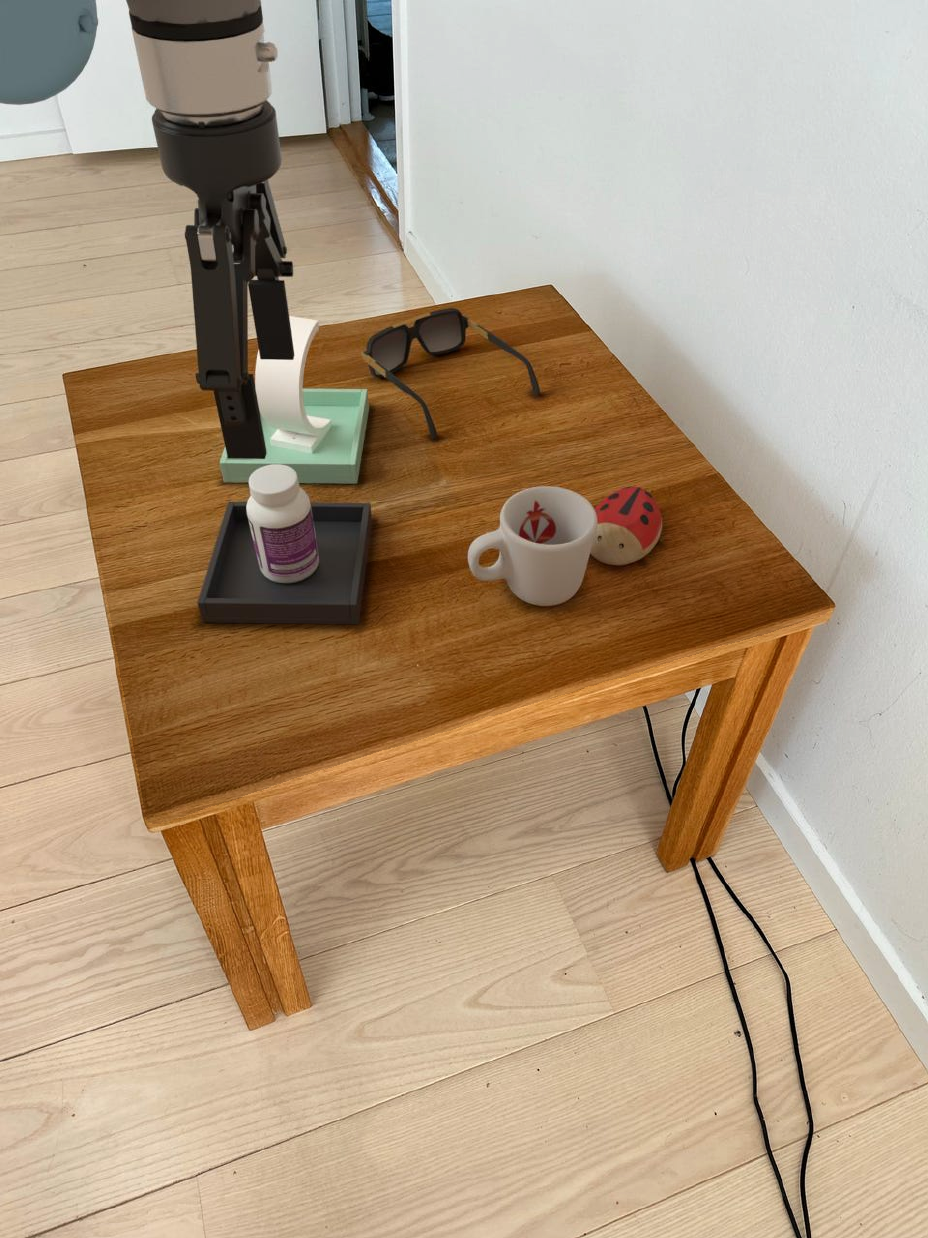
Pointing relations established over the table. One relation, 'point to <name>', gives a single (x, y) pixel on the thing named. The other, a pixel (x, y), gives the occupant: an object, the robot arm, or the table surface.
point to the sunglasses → (427, 347)
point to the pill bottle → (281, 524)
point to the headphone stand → (289, 394)
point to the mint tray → (334, 452)
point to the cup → (539, 545)
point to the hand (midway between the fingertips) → (263, 403)
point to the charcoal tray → (317, 599)
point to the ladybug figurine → (626, 526)
